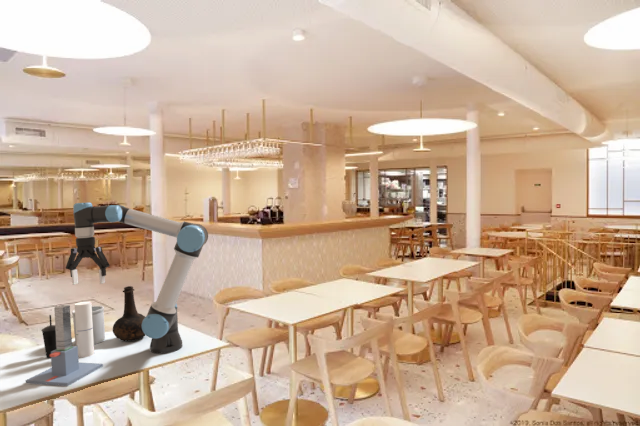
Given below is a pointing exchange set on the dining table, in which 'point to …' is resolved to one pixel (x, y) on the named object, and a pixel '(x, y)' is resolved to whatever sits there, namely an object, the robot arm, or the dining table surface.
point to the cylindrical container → (84, 328)
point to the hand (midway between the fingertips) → (89, 283)
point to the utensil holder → (95, 324)
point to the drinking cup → (49, 338)
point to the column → (63, 328)
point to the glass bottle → (129, 319)
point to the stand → (64, 369)
